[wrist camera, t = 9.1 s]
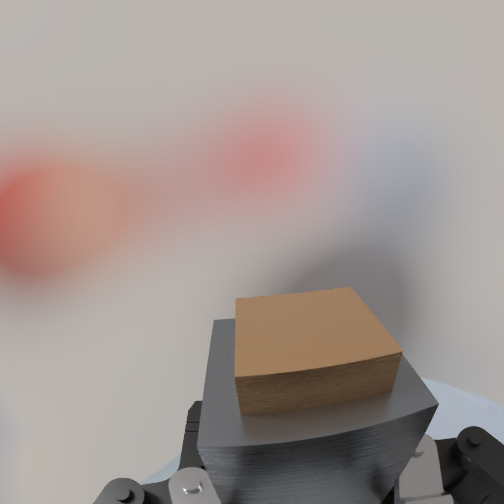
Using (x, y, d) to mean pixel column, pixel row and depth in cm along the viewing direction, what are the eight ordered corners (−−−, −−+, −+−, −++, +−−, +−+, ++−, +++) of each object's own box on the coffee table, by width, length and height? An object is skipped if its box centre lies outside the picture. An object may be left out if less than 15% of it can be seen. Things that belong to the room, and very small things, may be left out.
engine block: (332, 469, 11) (364, 273, 8) (351, 538, 7) (454, 364, 4) (245, 481, 11) (209, 288, 8) (248, 553, 7) (183, 410, 4)
